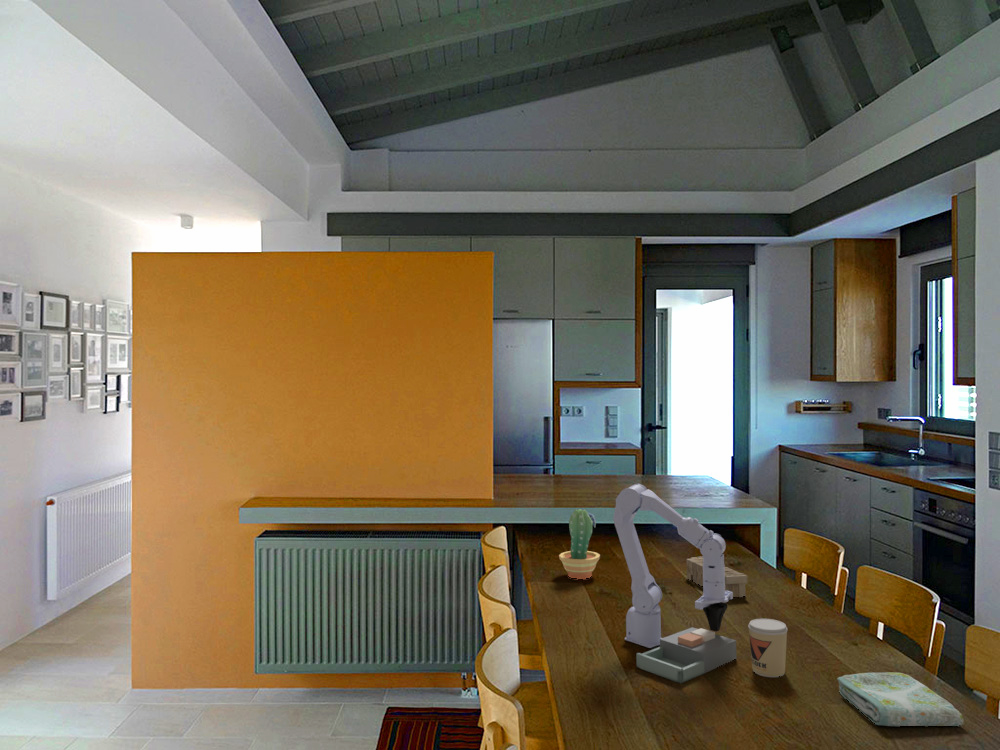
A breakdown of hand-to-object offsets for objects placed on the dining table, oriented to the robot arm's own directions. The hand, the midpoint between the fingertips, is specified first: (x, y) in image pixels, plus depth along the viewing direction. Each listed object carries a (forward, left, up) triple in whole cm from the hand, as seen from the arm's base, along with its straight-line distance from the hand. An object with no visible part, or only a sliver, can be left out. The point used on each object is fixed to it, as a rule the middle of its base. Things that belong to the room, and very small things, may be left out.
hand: (714, 630), depth 207 cm
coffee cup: (+17, -2, -6) cm, 18 cm away
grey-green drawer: (0, -19, -6) cm, 20 cm away
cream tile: (0, -5, -1) cm, 5 cm away
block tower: (-36, +51, -6) cm, 63 cm away
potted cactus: (-79, +27, -6) cm, 84 cm away
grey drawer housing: (0, -8, -6) cm, 10 cm away
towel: (+47, +1, -6) cm, 48 cm away
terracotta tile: (0, -11, -1) cm, 11 cm away
